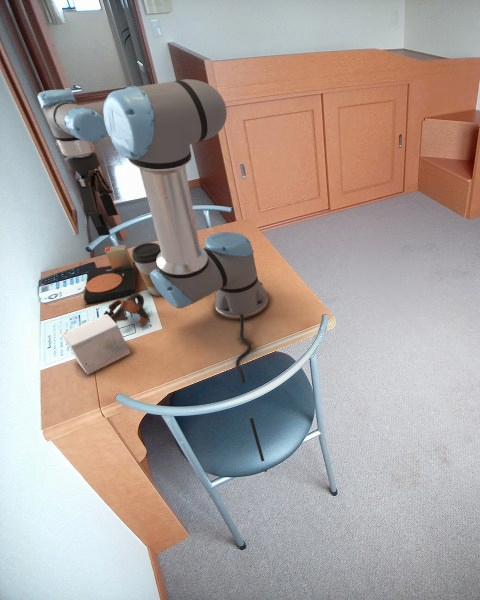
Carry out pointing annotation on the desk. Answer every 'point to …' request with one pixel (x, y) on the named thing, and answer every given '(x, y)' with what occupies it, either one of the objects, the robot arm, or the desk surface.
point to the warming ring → (104, 283)
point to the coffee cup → (147, 263)
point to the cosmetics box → (96, 343)
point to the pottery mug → (128, 309)
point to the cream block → (119, 257)
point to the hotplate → (120, 291)
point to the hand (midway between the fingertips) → (109, 224)
